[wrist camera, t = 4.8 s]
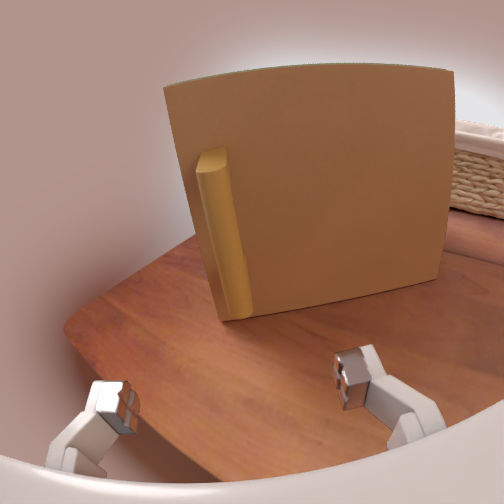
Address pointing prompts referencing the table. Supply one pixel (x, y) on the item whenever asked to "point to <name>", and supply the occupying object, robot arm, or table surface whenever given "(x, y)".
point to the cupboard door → (315, 180)
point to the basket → (478, 169)
